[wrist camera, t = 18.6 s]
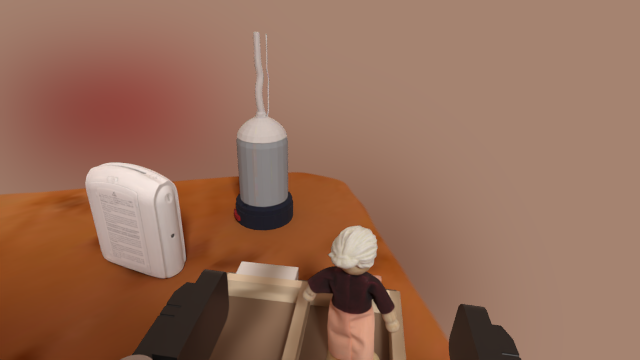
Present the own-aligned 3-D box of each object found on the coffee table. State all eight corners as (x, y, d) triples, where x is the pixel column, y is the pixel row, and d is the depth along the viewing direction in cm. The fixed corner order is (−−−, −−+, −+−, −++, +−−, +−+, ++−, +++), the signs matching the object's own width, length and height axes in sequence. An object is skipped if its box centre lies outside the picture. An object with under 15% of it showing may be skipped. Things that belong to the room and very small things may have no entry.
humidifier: (224, 219, 54) (207, 31, 43) (260, 197, 61) (252, 28, 50) (270, 236, 51) (264, 36, 40) (303, 210, 57) (305, 32, 46)
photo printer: (193, 262, 45) (180, 166, 40) (168, 284, 42) (149, 182, 36) (126, 242, 49) (106, 151, 43) (97, 261, 45) (71, 164, 40)
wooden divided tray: (155, 428, 28) (146, 396, 26) (229, 282, 42) (227, 257, 41) (405, 467, 26) (412, 435, 24) (394, 301, 40) (398, 274, 39)
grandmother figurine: (393, 348, 33) (412, 222, 27) (391, 388, 29) (412, 254, 24) (306, 332, 34) (308, 209, 29) (295, 368, 31) (295, 236, 25)
